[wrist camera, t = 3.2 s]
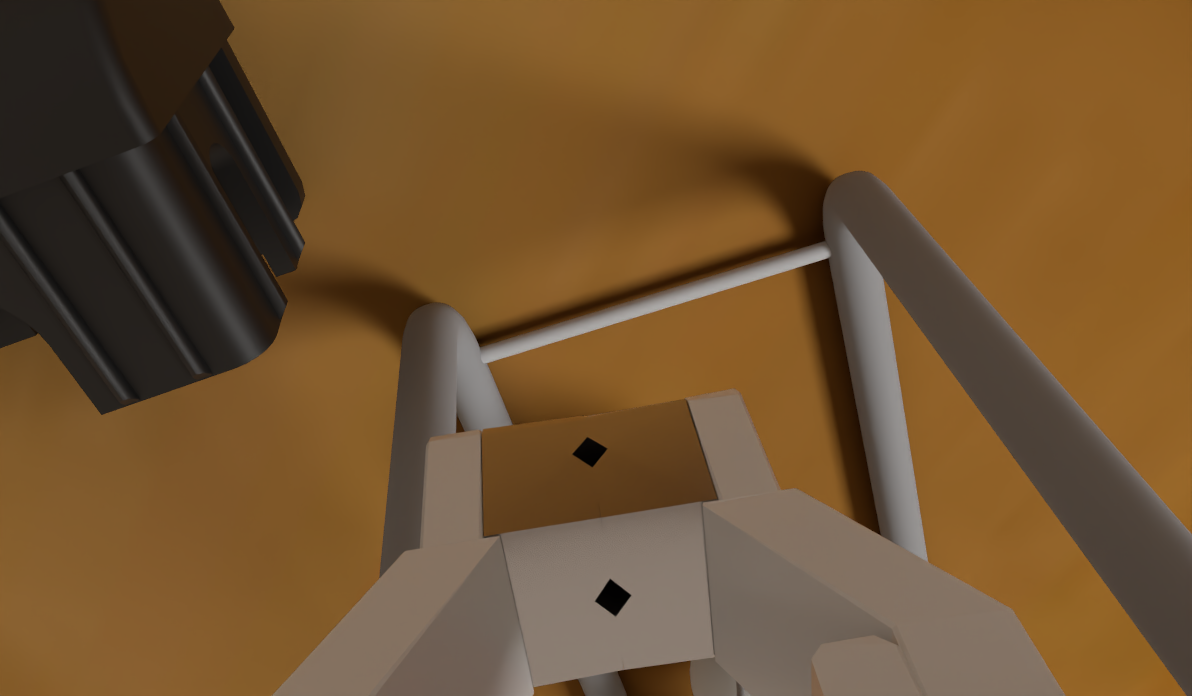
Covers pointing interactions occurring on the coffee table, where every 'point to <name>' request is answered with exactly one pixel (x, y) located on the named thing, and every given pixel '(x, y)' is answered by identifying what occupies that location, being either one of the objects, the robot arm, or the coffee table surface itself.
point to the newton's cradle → (959, 335)
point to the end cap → (138, 195)
